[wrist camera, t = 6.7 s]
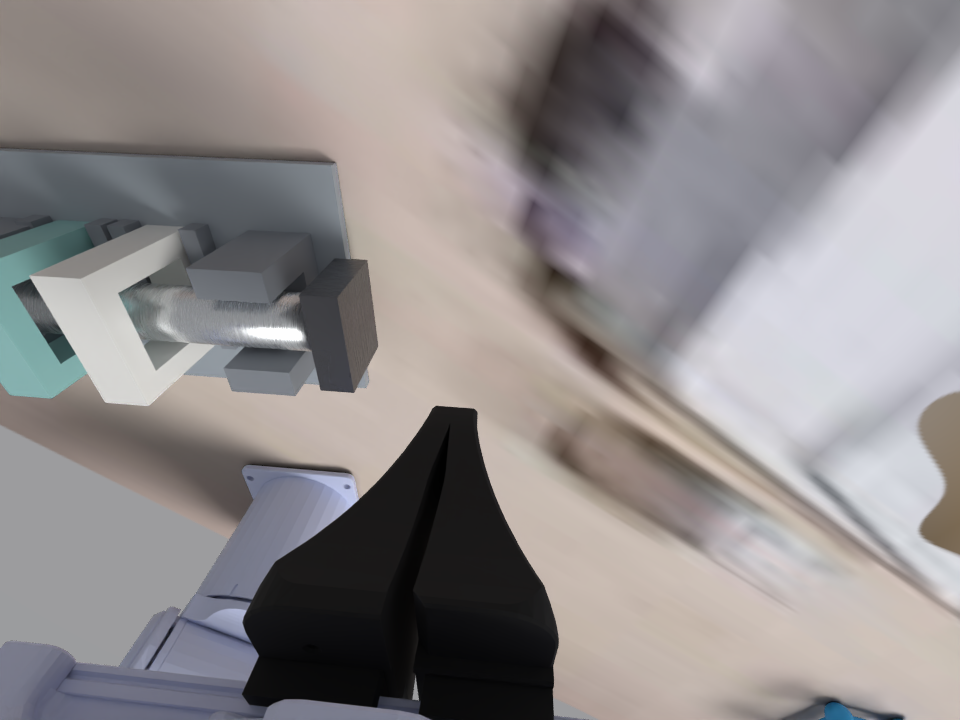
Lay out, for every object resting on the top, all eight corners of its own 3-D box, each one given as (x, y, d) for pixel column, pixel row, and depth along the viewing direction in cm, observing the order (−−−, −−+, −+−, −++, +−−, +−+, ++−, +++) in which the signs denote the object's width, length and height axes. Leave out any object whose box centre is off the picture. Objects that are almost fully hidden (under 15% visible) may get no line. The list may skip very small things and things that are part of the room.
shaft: (378, 346, 22) (354, 392, 19) (90, 326, 23) (22, 368, 20) (367, 259, 20) (337, 297, 17) (43, 241, 21) (-43, 274, 17)
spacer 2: (225, 335, 24) (148, 406, 19) (191, 333, 24) (105, 402, 19) (187, 226, 21) (81, 278, 16) (146, 224, 21) (28, 275, 16)
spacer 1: (148, 330, 24) (52, 398, 19) (114, 327, 24) (9, 395, 20) (97, 222, 21) (-36, 271, 16) (57, 219, 21) (-86, 268, 16)
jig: (369, 381, 26) (338, 445, 22) (51, 358, 27) (-39, 414, 23) (336, 162, 19) (281, 192, 15) (-87, 144, 20) (-252, 166, 16)
